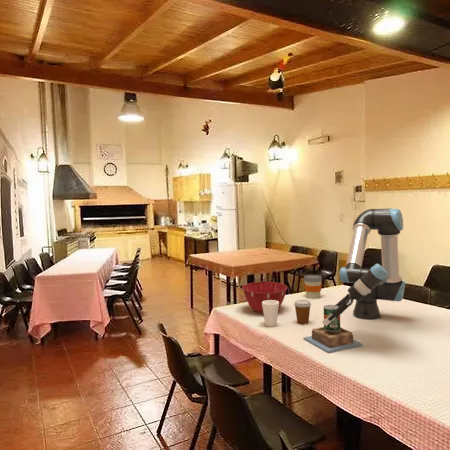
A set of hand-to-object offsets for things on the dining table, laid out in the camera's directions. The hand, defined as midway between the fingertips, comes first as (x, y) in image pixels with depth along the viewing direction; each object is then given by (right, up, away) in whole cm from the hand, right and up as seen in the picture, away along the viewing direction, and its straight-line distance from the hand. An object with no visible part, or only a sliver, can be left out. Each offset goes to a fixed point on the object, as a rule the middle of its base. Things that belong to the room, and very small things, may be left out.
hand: (324, 321), depth 197 cm
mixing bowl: (-23, -7, +59) cm, 64 cm away
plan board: (+4, -10, 0) cm, 11 cm away
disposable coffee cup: (-5, -9, +32) cm, 34 cm away
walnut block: (+4, -10, 0) cm, 11 cm away
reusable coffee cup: (+14, -4, +87) cm, 88 cm away
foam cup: (-23, -9, +30) cm, 39 cm away
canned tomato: (+3, -4, -1) cm, 5 cm away
